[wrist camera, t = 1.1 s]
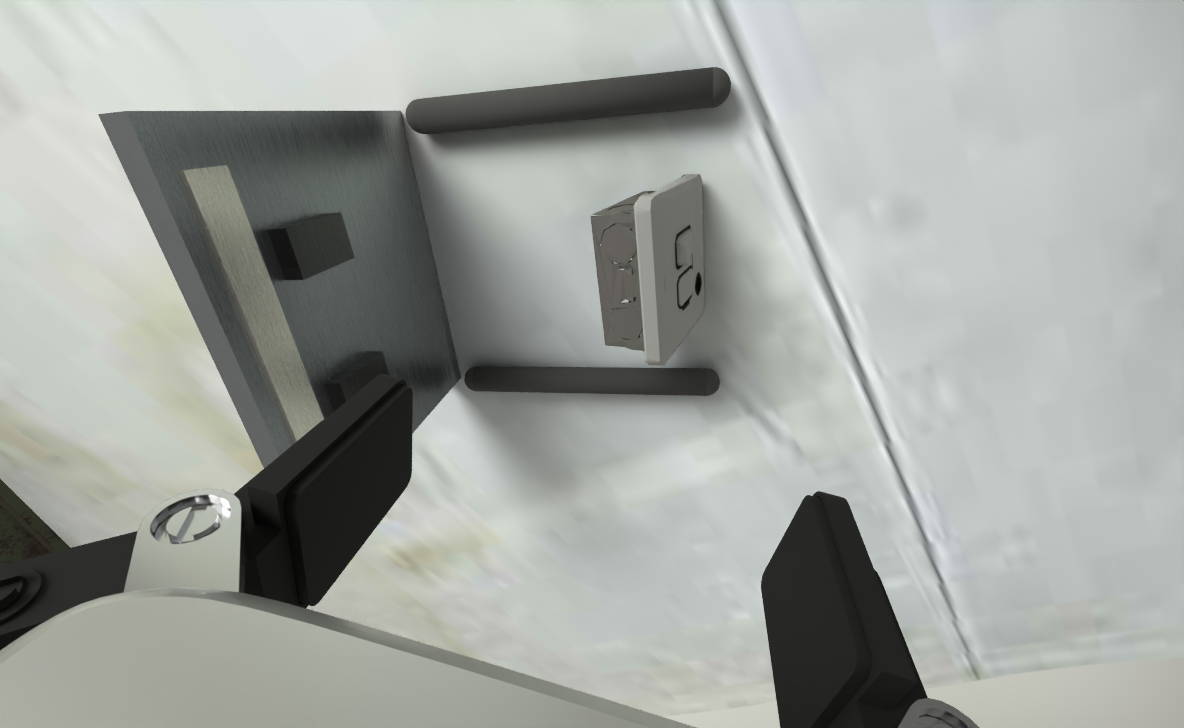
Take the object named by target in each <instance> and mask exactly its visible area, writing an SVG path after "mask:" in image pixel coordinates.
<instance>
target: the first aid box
mask: <svg viewBox="0 0 1184 728" xmlns="http://www.w3.org/2000/svg"><path fill="white" fill-rule="evenodd" d="M69 548H70V547H69V546H68V545H67V544H66V543H65V542H64V541H63V540H62V539H61V538H60V537H59V536H58V535H57V534H56V533H55V532H54V531H52V530H51V529H50V528H49V527H48V526H47V525H46V524H45V523H44V522H43V521H42V520H41V519H40V518H39V517H38V516H37V515H36V514H35V513H34V512H33V511H32V510H31V509H30V508H29V507H28V506H27V505H26V504H25V503H24V502H23V501H22V500H21V499H20V498H19V497H18V496H17V495H16V494H15V493H14V492H13V491H12V490H11V489H10V488H9V487H8V486H7V485H6V484H5V483H4V482H3V481H2V480H1V479H0V566H1V565H5V564H9V563H13V562H17V561H21V560H25V559H29V558H33V557H37V556H41V555H45V554H49V553H53V552H57V551H61V550H65V549H69Z"/></svg>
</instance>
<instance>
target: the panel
mask: <svg viewBox="0 0 1184 728" xmlns="http://www.w3.org/2000/svg"><path fill="white" fill-rule="evenodd" d="M98 115H99V117H100V119H101V121H102V123H103V126H104V128H105V130H106V132H107V134H108V136H109V138H110V141H111V143H112V145H113V147H114V149H115V151H116V153H117V155H118V158H119V160H120V162H121V164H122V166H123V168H124V170H125V173H126V175H127V177H128V179H129V181H130V183H131V185H132V188H133V190H134V192H135V194H136V196H137V198H138V200H139V202H140V205H141V207H142V209H143V211H144V213H145V215H146V217H147V220H148V222H149V224H150V226H151V228H152V230H153V232H154V235H155V237H156V239H157V241H158V243H159V245H160V247H161V249H162V252H163V254H164V256H165V258H166V260H167V262H168V264H169V267H170V269H171V271H172V273H173V275H174V277H175V279H176V281H177V284H178V286H179V288H180V290H181V292H182V294H183V296H184V299H185V301H186V303H187V305H188V307H189V309H190V311H191V314H192V316H193V318H194V320H195V322H196V324H197V326H198V328H199V331H200V333H201V335H202V337H203V339H204V341H205V343H206V346H207V348H208V350H209V352H210V354H211V356H212V358H213V360H214V363H215V365H216V367H217V369H218V371H219V373H220V375H221V378H222V380H223V382H224V384H225V386H226V388H227V390H228V393H229V395H230V397H231V399H232V401H233V403H234V405H235V407H236V410H237V412H238V414H239V416H240V418H241V420H242V422H243V425H244V427H245V429H246V431H247V433H248V435H249V437H250V439H251V442H252V444H253V446H254V448H255V450H256V452H257V454H258V457H259V459H260V461H261V463H262V465H263V467H264V468H266V467H267V466H268V465H269V464H270V463H272V462H273V461H274V460H275V459H276V458H278V457H279V456H280V455H281V454H282V453H284V452H285V451H286V450H287V449H288V448H290V447H291V446H292V445H293V444H294V443H296V442H297V441H298V440H299V439H300V438H301V437H303V436H304V435H305V434H306V433H307V432H309V431H310V430H311V429H312V428H313V427H315V426H316V425H317V424H318V423H319V422H321V421H322V420H324V419H326V418H327V417H329V416H330V415H331V414H332V413H333V412H335V411H336V410H337V409H338V408H339V407H340V406H342V405H343V404H344V403H345V402H346V401H348V400H349V399H350V398H351V397H352V396H354V395H355V394H356V393H357V392H358V391H359V390H361V389H362V388H363V387H364V386H365V385H367V384H368V383H369V382H370V381H371V380H373V379H374V378H375V377H376V376H377V375H379V374H385V375H389V376H392V377H396V378H400V379H404V380H405V381H406V383H407V387H410V388H411V389H412V391H413V414H412V433H413V432H414V431H415V430H416V429H417V428H418V426H419V425H420V424H421V423H422V422H423V421H424V420H425V418H426V417H427V416H428V415H429V414H430V413H431V412H432V410H433V409H434V408H435V407H436V406H437V405H438V403H439V402H440V401H441V400H442V399H443V398H444V397H445V395H446V394H447V393H448V392H449V391H450V390H451V389H452V387H453V386H454V385H455V384H456V383H457V382H458V380H459V379H460V378H461V377H460V373H459V369H458V364H457V360H456V355H455V351H454V346H453V342H452V338H451V333H450V329H449V324H448V320H447V315H446V311H445V307H444V302H443V298H442V293H441V289H440V284H439V280H438V276H437V271H436V267H435V262H434V258H433V253H432V249H431V245H430V240H429V236H428V231H427V227H426V223H425V218H424V214H423V209H422V205H421V200H420V196H419V192H418V187H417V183H416V178H415V174H414V169H413V165H412V161H411V156H410V152H409V147H408V143H407V138H406V134H405V130H404V125H403V121H402V116H401V112H400V111H123V112H115V113H106V114H98Z"/></svg>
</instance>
